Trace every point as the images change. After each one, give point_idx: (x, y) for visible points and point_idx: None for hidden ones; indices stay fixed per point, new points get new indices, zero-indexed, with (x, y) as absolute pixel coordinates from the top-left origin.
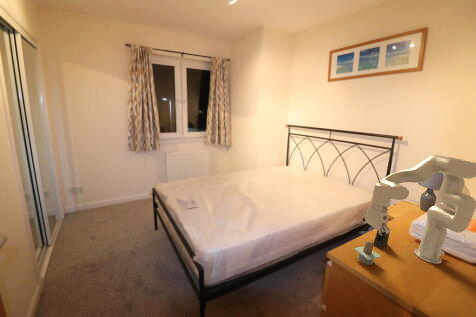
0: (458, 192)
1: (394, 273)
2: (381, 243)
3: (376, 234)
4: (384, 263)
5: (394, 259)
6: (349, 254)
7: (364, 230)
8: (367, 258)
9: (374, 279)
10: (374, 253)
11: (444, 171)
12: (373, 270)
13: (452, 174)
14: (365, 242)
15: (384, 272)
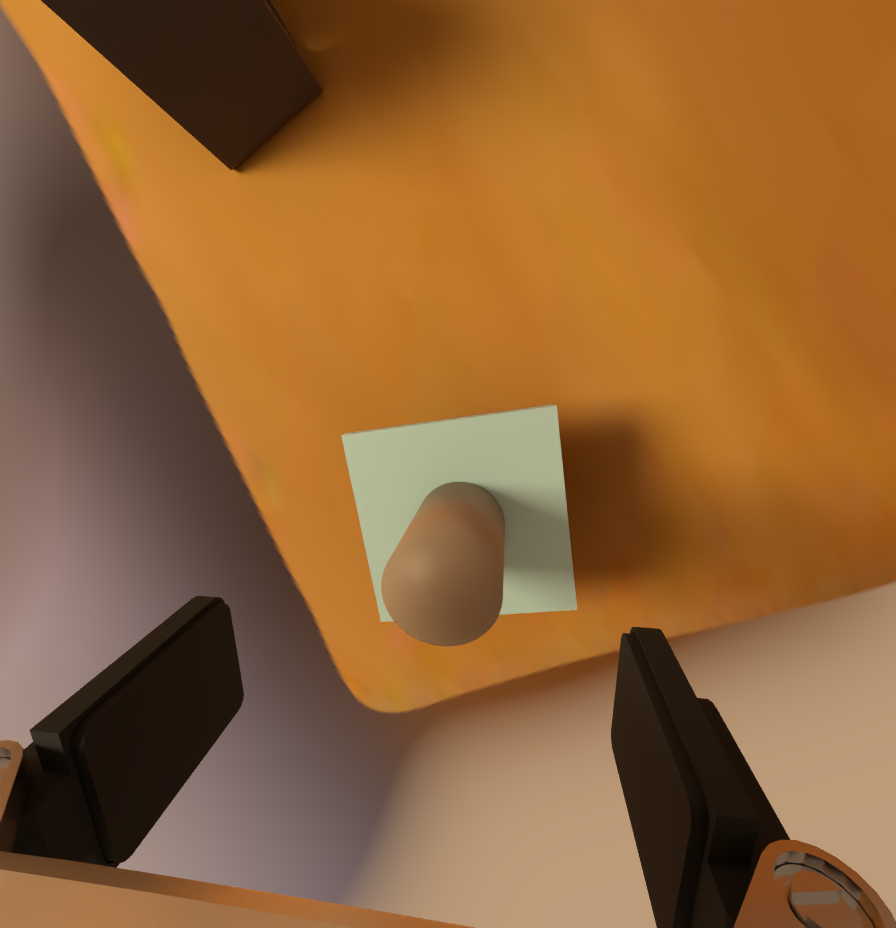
0: None
1: (696, 342)
2: (246, 62)
3: (87, 36)
4: (543, 317)
5: (502, 106)
6: None
7: (229, 703)
8: (559, 610)
9: (705, 611)
10: (493, 452)
11: None
12: (608, 527)
13: None
14: (416, 628)
15: (656, 441)
